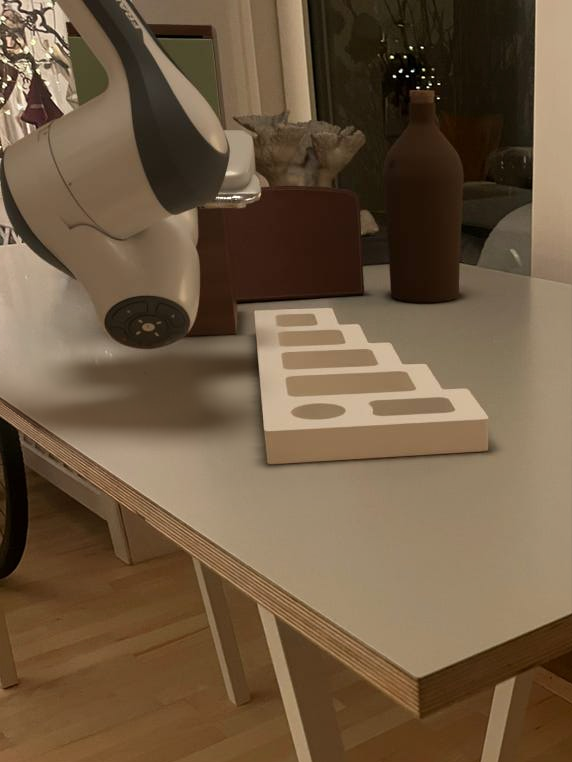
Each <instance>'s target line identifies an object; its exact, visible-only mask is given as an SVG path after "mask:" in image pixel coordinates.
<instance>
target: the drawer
mask: <svg viewBox="0 0 572 762" xmlns="http://www.w3.org/2000/svg"><path fill="white" fill-rule="evenodd" d="M66 38H67V44H68V50H69V56H70V57H69V58H70V63H71V68H72V73H73V81H74V86H75V90H76V91H75V92H76V97H77V103H78V107H80V106H81V105H83V104H85V103H86V102H88V101H90V100H92V99H93V98H95V97H97V96H99V95H100V94H102V93H103V92H105V91H106V90H107V88H108V85H109V78H108V74H107V72H106V70H105V68H104V67H103V66H102V64H101V63H100V61H99V60H98V59H97V57H96V56H95V55H94V53H93V52H92V50H91V49H90V48H89V46H88V45H87V44H86V42H85V41H84V40H83V38H82V37H68V36H67V37H66ZM157 39H158V41H159V42H160V43H161V45H162V46H163V47H164V49H165V50H166V51H167V53H168V54H169V55H170V56H171V58H172V59H173V60H174V61H175V63H176V64H177V65H178V66H179V68H180V69H181V70H182V71H183V72H184V74H185V75H186V76H187V77H188V79H189V80H190V81H191V82H192V84H193V85H194V86H195V87H196V89H197V90H198V91H199V93H200V94H201V95H202V96H203V97H204V99H205V100H206V101H207V103H208V104H209V105H210V107H211V108H212V110H213V111H214V113H215V114H216V116H217V118H218V119H219V121H220V123H221V118H220V108H219V99H218V89H217V80H216V71H215V61H214V52H213V43H212V39H167V38H157Z"/></svg>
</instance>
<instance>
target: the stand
mask: <svg viewBox="0 0 572 762" xmlns="http://www.w3.org/2000/svg"><path fill="white" fill-rule="evenodd" d="M146 24H147V25H148V26H149V28H150V29H151V31H152V32H153V33H154V35H155V36H156V38H167V39H212V43H213V52H214V61H215V71H216V80H217V89H218V99H219V108H220V118H221V126H222V128H223V130H227V121H226V112H225V101H224V100H225V99H224V92H223V84H222V83H223V81H222V74H221V62H220V55H219V53H220V52H219V43H218V35H217V29H216V28H215V27H214V26H213V25H212V24H205V23H204V24H203V23H162V22H161V23H159V22H158V23H157V22H156V23H153V22H146ZM65 28H66V33H67V37H81V35H80V34H79V33H78V31H77V30H76V29H75V27H74V26H73V24H72V23H71V22H70V21H65ZM197 211H198V242H197V246H196V250H197V253H198V256H199V263H200V295H199V305H198V311H197V315H196V318H195V321H194V324H193V326H192V328H191V329H190V331H189V332H188V333H187V335H186V336H185V337H192V336H193V337H195V336H197V337H199V336H224V335H225V336H227V335H228V336H229V335H237V330H238V315H239V314H238V313H239V312H238V304H237V303H238V302H236V292H235V283H234V274H233V265H232V256H231V246H230V237H229V228H228V219H227V210H226V208H214V209H199V208H198V209H197Z"/></svg>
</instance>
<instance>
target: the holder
mask: <svg viewBox="0 0 572 762" xmlns="http://www.w3.org/2000/svg"><path fill="white" fill-rule="evenodd" d="M253 313H254V322H255V324H254V325H255V335H256V336H255V337H256V349H257V362H258V373H259V383H260V397H261V409H262V419H263V421H262V422H263V432H264V443H265V451H266V452H265V453H266V462H267V464H268V465H281V464H296V463H314V462H329V461H330V462H331V461H346V460H361V459H378V458H393V457H396V458H397V457H411V456H412V457H413V456H426V455H427V456H428V455H443V454H444V455H445V454H460V453H475V452H486V451H488V450H489V416H488V415H487V413H486V412H485V410H484V409H483V408H482V406H481V405H480V404H479V402H478V400H477V399H476V398H475V396H474V395H473V393H472V392H471V391H470V390H469V388H447V389H446V388H443V387H442V386H441V385H440V383H439V381H438V380H437V378H436V377H435V376H434V374H433V372H432V371H431V369H430V368H429V366H428V365H427V364H426V363H413V364H411V363H410V364H405V363H403V362H402V360H401V359H400V357H399V355H398V354H397V352H396V350H395V348H394V347H393V345H392V343H391V342H369V341H368V339H367V337H366V335H365V333H364V331H363V329H362V327H361V325H360V324H358V323H353V324H352V323H351V324H340V323H339V321H338V319H337V317H336V315H335V313H334V309H333V308H332V307H320V308H319V307H318V308H289V309H288V308H285V309H257V310H254V312H253Z"/></svg>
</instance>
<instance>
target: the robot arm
mask: <svg viewBox="0 0 572 762" xmlns="http://www.w3.org/2000/svg"><path fill="white" fill-rule="evenodd" d="M54 1H55V3H56V4H57V5H58V7H59V8H60V9H61V11H62V13H64V15H65V16H66V17H67V20H69V22H71V23H72V24H73V26H74V27H75V29H76V30H77V31H78V33H79V34H80V35H81V37H82V38H83V40H84V41H85V42H86V44H87V45H88V46H89V48H90V49H91V50H92V52H93V53H94V55H95V56H96V57H97V59H98V60H99V61H100V63H101V64H102V66H103V67H104V68H105V70H106V72H107V74H108V78H109V85H108V88H107V90H106V91H105V92H103V93H102V94H100V95H99V96H97V97H95V98H93V99H92V100H90V101H88V102H86V103H85V104H83V105H81V106H80V107H79V106H78V107H76V108H74V109H73V110H71V111H69V112H67V113H66V114H64V115H62V116H61V117H59V118H55V119H52V120H50V121H49V122H47V123H45V124H43V125H41V126H40V127H38V128H36V129H34V130H32V131H31V132H29V133H28V134H26V135H24V136H23V137H21V138H20V139H18V140H17V141H15V142H13V143H12V144H11V145H8V146H6V147H5V148H4V150H3V152H2V155H1V159H0V189H1V190H0V191H1V196H2V202H3V206H4V210H5V212H6V215H7V218H8V220H9V222H10V224H11V227H12V228H13V230H14V232H15V233H16V234H17V235H18V237H19V238H20V239H21V240H22V241H23V243H24V244H25V245H26V246H27V247H28V248H29V249H30V250H31V251H32V252H33V253H34V254H35V255H37V257H39V258H40V259H41V260H43V261H44V262H45V263H47V264H49V265H50V266H51V267H53V268H55V269H57V270H59V271H60V272H62V273H63V274H65V275H67V276H68V277H70V278H72V279H74V280H76V281H78V283H79V284H80V285H81V287H82V289H84V291H85V293H86V294H87V296H88V298H89V300H90V302H91V304H92V307H93V309H94V312H95V315H96V317H97V320H98V322H99V323H100V326H101V328H102V329H103V330H104V332H105V333H106V334H107V335H108V336H109V337H110V338H111V339H112V340H113V341H115V342H117V343H118V344H120V345H122V346H126V347H128V348H132V349H137V350H138V349H139V350H154V349H160V348H163V347H166V346H169V345H171V344H174V343H176V342H178V341H180V340H182V339H183V338H185V337H187V336H186V335H187V333H188V332H189V331H190V329H191V328H192V326H193V324H194V321H195V318H196V315H197V311H198V305H199V295H200V263H199V256H198V253H197V250H196V246H197V242H198V211H197V209H198V208H199V209H214V208H243V207H246V204H248V203H252V202H254V201H257V200H259V199H260V196H261V187H262V182H261V180H260V179H259V177H258V176H257V175H256V171H255V170H256V168H255V154H254V145H253V139H252V138H253V136H251V135H250V134H248V132H246V131H245V130H242V129H241V130H240V129H236V130H235V129H232V130H230V129H229V130H227V129H226V130H223V128H222V126H221V123H220V121H219V119H218V118H217V116H216V114H215V113H214V111H213V110H212V108H211V107H210V105H209V104H208V103H207V101H206V100H205V99H204V97H203V96H202V95H201V94H200V93H199V91H198V90H197V89H196V87H195V86H194V85H193V84H192V82H191V81H190V80H189V79H188V77H187V76H186V75H185V74H184V72H183V71H182V70H181V69H180V68H179V66H178V65H177V64H176V63H175V61H174V60H173V59H172V58H171V56H170V55H169V54H168V53H167V51H166V50H165V49H164V47H163V46H162V45H161V43H160V42H159V41H158V39H157V38H156V36H155V35H154V33H153V32H152V31H151V29H150V28H149V26H148V25H147V24H146V23H147V22H146V20H145V19H144V18H143V16H142V15H141V13H140V12H139V10H138V9H137V7H136V6H135V5H134V3H133V2H132V1H131V0H54Z"/></svg>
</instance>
